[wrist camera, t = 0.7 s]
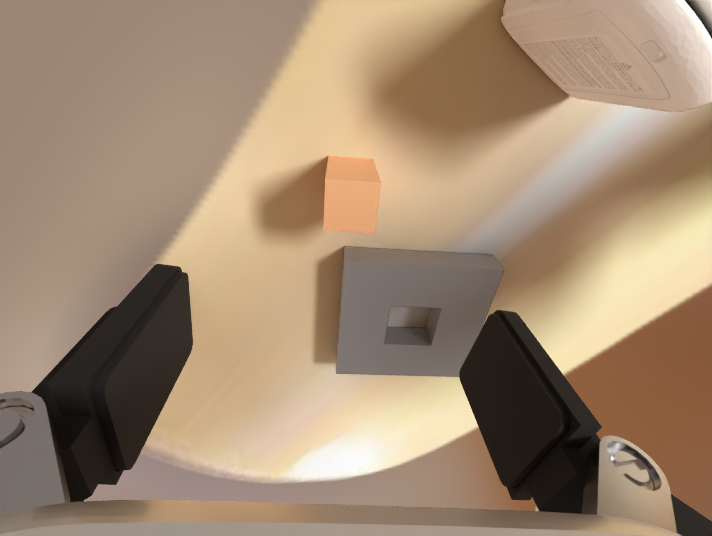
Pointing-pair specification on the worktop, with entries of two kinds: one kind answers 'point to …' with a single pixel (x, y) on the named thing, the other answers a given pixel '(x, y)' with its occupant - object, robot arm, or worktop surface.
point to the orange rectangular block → (351, 195)
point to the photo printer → (620, 49)
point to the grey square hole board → (412, 289)
